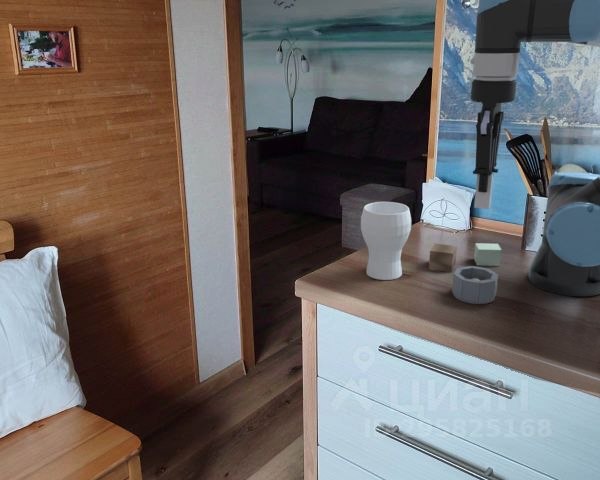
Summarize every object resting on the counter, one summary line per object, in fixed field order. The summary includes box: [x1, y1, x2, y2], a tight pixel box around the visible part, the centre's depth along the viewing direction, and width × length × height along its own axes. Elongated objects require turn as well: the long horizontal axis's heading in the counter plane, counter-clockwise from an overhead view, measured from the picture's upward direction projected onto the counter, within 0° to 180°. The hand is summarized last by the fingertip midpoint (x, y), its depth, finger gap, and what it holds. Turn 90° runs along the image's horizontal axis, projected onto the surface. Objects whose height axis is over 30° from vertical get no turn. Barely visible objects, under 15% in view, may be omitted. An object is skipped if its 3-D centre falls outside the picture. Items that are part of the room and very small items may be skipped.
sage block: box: [473, 242, 502, 267], centre depth 131 cm, size 5×4×4 cm
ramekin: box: [451, 265, 499, 305], centre depth 115 cm, size 8×8×5 cm
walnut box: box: [428, 243, 458, 273], centre depth 129 cm, size 5×5×4 cm
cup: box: [360, 201, 412, 281], centre depth 124 cm, size 11×11×15 cm
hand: (482, 207), depth 109 cm, fingers closed
